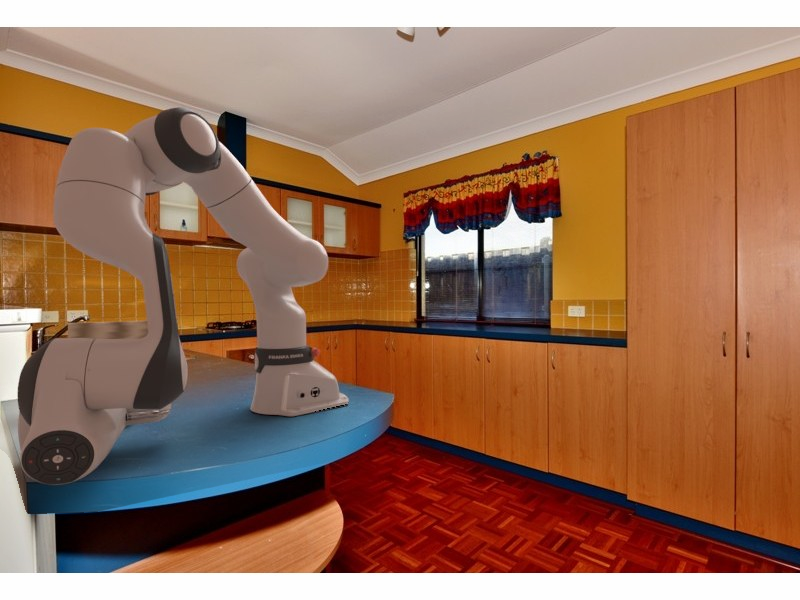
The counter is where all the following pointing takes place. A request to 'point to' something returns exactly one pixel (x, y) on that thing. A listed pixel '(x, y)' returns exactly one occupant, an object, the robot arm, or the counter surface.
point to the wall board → (109, 330)
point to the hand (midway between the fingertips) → (110, 401)
